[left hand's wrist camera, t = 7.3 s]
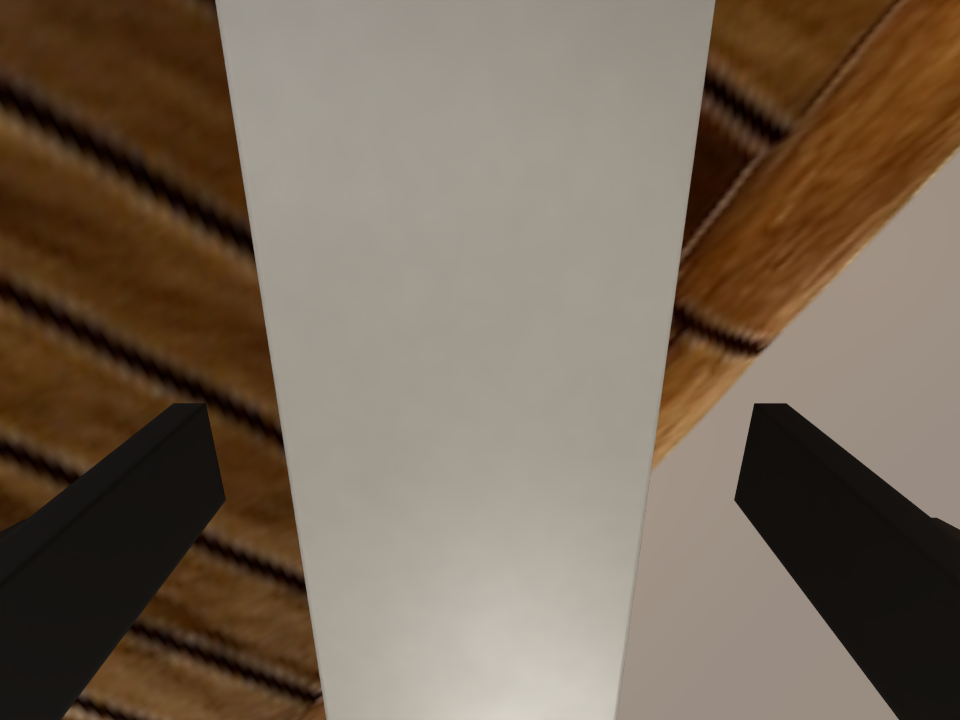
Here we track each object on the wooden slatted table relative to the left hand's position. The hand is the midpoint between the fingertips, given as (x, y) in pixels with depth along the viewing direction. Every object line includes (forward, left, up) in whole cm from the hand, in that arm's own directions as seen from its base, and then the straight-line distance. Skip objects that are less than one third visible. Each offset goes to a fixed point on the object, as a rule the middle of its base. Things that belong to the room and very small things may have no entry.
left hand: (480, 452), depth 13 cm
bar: (-4, +7, -3) cm, 9 cm away
